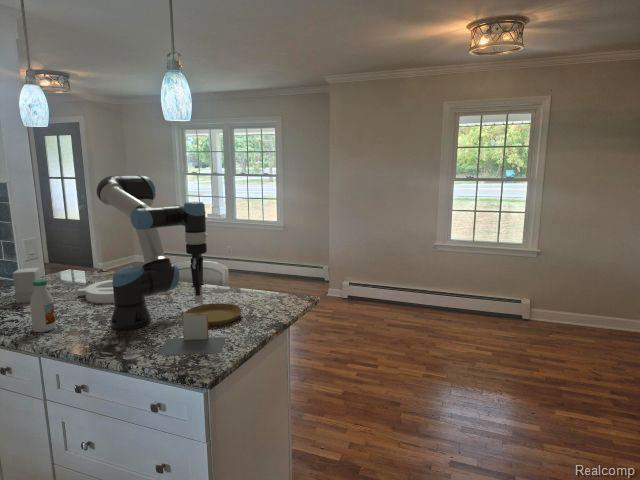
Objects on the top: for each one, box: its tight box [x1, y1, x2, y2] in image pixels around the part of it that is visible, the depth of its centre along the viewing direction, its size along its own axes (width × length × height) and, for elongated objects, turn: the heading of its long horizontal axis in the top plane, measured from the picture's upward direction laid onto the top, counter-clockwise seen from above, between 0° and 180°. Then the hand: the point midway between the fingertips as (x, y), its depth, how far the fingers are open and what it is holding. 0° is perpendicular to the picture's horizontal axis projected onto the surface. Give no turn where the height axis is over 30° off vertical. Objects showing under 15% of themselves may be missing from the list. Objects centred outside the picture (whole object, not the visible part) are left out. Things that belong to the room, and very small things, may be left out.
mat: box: [156, 336, 227, 356], centre depth 150 cm, size 22×14×1 cm, turn 96°
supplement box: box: [12, 267, 42, 304], centre depth 199 cm, size 9×9×15 cm
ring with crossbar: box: [76, 279, 114, 304], centre depth 211 cm, size 28×28×5 cm
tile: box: [182, 313, 210, 340], centre depth 155 cm, size 9×1×10 cm, turn 96°
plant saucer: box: [184, 302, 243, 327], centre depth 179 cm, size 24×24×3 cm
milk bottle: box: [29, 278, 57, 333], centre depth 163 cm, size 8×8×20 cm
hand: (198, 302), depth 160 cm, fingers closed
